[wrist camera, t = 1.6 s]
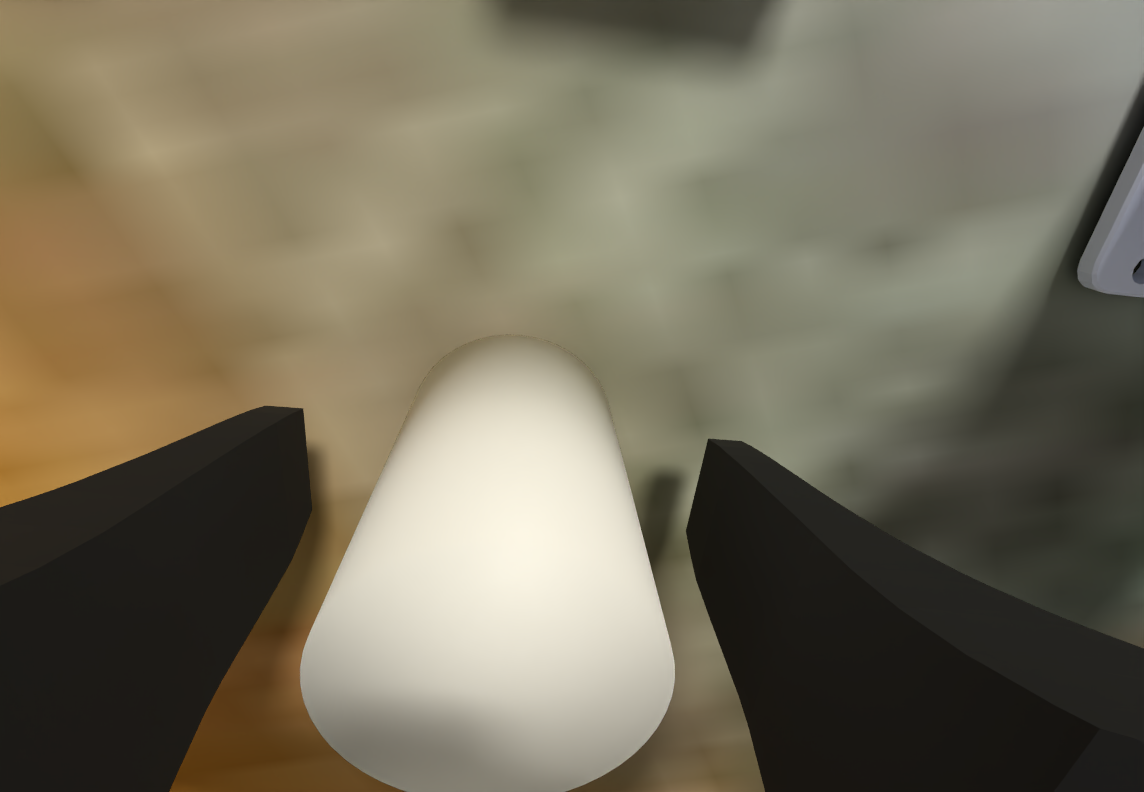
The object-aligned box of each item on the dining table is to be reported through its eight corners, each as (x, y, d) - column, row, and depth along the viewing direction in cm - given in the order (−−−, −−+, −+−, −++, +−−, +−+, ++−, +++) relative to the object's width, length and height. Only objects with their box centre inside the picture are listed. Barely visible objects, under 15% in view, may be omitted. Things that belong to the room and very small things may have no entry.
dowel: (624, 344, 11) (710, 555, 6) (597, 515, 13) (642, 805, 7) (411, 325, 11) (281, 531, 5) (411, 505, 12) (313, 801, 7)
